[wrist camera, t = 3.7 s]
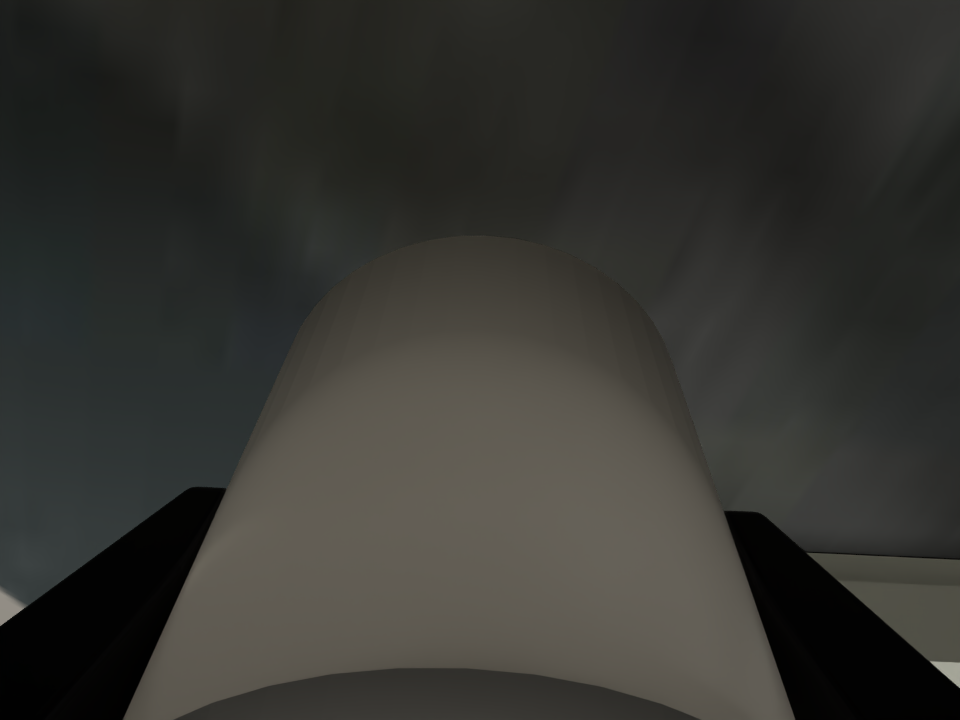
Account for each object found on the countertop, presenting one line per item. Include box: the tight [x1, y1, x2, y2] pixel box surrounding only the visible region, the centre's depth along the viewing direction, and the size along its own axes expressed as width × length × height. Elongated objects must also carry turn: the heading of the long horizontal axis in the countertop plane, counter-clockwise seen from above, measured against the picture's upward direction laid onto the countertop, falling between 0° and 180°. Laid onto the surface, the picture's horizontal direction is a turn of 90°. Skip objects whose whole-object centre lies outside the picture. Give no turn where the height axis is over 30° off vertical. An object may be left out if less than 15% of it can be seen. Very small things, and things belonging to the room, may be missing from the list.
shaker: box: [123, 235, 795, 720], centre depth 8 cm, size 5×5×7 cm
